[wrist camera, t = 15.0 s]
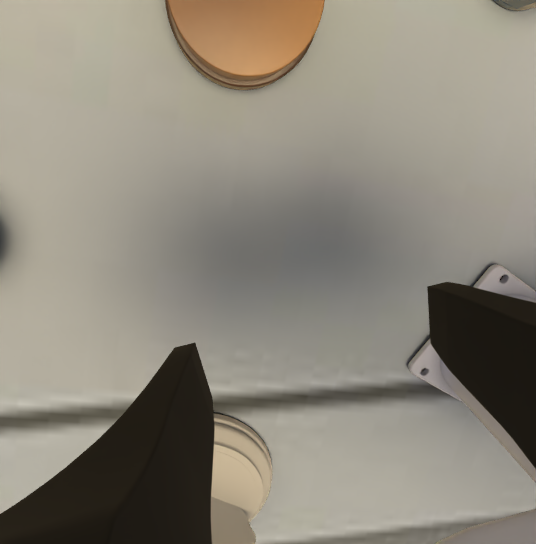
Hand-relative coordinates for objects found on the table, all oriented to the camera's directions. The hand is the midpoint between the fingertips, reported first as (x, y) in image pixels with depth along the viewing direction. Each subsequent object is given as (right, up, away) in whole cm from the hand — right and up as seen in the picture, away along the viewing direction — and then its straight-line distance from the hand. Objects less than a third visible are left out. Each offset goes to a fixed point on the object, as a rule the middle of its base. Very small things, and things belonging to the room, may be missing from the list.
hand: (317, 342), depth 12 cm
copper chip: (-2, +13, +3) cm, 13 cm away
